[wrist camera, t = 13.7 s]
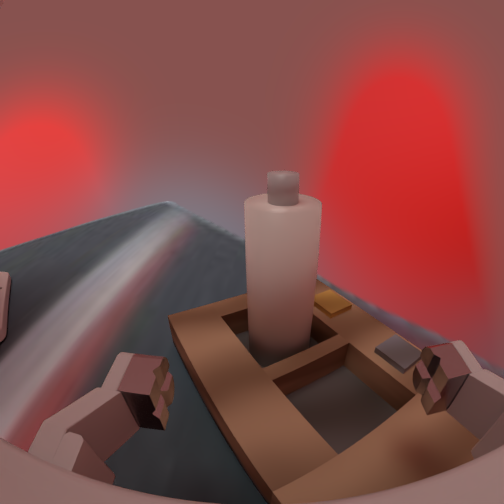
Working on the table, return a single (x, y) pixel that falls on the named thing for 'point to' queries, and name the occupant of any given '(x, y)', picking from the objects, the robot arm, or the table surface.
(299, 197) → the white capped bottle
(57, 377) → the table surface
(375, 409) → the board
